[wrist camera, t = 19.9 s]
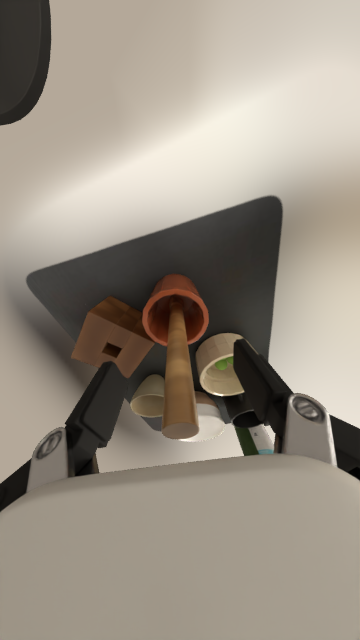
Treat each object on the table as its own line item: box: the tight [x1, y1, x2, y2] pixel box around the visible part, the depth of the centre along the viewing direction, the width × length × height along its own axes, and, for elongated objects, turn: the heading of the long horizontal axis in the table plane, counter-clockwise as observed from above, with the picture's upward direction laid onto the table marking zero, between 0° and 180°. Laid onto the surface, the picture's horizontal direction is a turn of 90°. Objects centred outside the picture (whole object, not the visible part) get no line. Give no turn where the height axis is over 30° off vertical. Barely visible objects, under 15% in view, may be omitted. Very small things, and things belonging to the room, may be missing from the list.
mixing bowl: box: [196, 333, 257, 396], centre depth 29 cm, size 13×13×7 cm
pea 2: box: [226, 356, 233, 365], centre depth 30 cm, size 3×3×3 cm
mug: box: [223, 392, 263, 428], centre depth 35 cm, size 9×12×9 cm
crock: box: [142, 274, 209, 346], centre depth 20 cm, size 8×8×10 cm
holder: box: [71, 296, 155, 378], centre depth 25 cm, size 11×11×7 cm
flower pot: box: [130, 375, 165, 417], centre depth 33 cm, size 10×10×7 cm
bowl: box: [177, 391, 225, 442], centre depth 39 cm, size 16×16×8 cm
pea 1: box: [215, 359, 228, 370], centre depth 31 cm, size 3×3×3 cm
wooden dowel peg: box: [161, 295, 200, 439], centre depth 15 cm, size 2×2×20 cm
